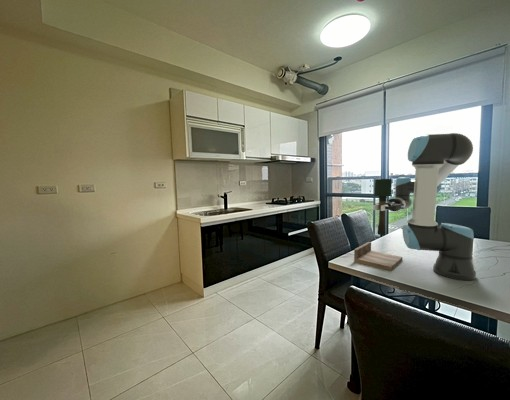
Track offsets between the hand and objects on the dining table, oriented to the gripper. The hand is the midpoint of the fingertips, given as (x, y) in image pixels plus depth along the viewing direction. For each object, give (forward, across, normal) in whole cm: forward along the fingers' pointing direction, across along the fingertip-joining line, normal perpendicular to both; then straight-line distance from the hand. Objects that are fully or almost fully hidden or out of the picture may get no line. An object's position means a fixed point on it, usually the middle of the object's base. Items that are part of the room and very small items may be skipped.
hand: (377, 207), depth 118 cm
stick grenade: (-5, 0, -15) cm, 16 cm away
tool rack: (-5, +1, -30) cm, 30 cm away
